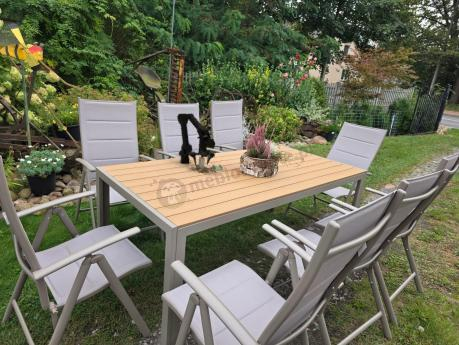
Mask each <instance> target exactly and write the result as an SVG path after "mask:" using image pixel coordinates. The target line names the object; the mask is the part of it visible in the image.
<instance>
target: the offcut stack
mask: <svg viewBox="0 0 459 345" xmlns="http://www.w3.org/2000/svg"><path fill="white" fill-rule="evenodd" d="M197 172H198V173H200V174H202V173H203V174H209V173H210V169H209V168H206V169H199V170H198V169H197Z"/></svg>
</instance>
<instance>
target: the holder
mask: <svg viewBox="0 0 459 345" xmlns="http://www.w3.org/2000/svg"><path fill="white" fill-rule="evenodd" d="M210 168H211V169H212V170H213V171H225V169H224V168H223V165H221V163H218V165H215V164H214V163H213V164H212V165H211V166H210Z"/></svg>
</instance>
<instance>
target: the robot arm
mask: <svg viewBox="0 0 459 345" xmlns="http://www.w3.org/2000/svg"><path fill="white" fill-rule="evenodd" d="M176 119H177V122H178V124H179V125H180V130H181V131H180V132H181V141H182V144H181V146H180V150H179V152H178V156H179V157H180V160H179V162H180V164H181V165H182V164H183V165H184V164H187V165H188V164H190V157H191V158H192V159H193V162H194V165H195V166H196V165H197V156H201V157H204V158H207V159H206V166H208V165H209V162H210V161H211V160H212V159H214V158H215V156H216V154H215V152H213V151H211V150H208V149H207V148H210V149H214V148H215V147H216V141H215V139H214V138H212V136H211V133H210V131H209V129H208V128H207V127H206V126H204V125H202V124H201V123H200V121H199V120H198V119H197V118H196V117H195V115H194V113H178V114H177V116H176ZM189 122H190V124H192V125H193V127H194V128H195V129H196V133H197V135H198V136H197V137H196V139H199V140H198V152H196V151H193V145H192V144H190V142H189V140H190V139H189V132H188V123H189Z"/></svg>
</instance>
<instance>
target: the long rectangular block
mask: <svg viewBox="0 0 459 345" xmlns="http://www.w3.org/2000/svg"><path fill="white" fill-rule="evenodd" d="M198 156H199V157H198V165H199V166H198V167H199V168H200V169H204V166H205V162H206V161H205V159H206V157H201V155H198Z"/></svg>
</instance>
